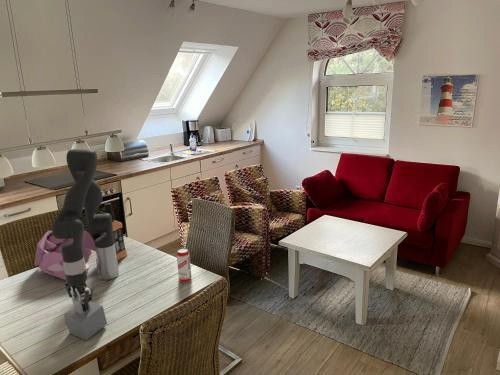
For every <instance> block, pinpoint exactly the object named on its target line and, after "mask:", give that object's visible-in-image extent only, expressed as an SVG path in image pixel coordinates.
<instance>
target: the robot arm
mask: <svg viewBox="0 0 500 375" xmlns="http://www.w3.org/2000/svg"><path fill="white" fill-rule="evenodd" d="M65 160H66V164H67V167H68V170H69V172H70V174H71V177H72V178H73V181H74V184H73V185H72V186H71V187H70V188H69V189H68V191H67V192H66V194H65V197H64V200H63V201H64V202H63V205H62V208H61V210H60V212H59V213H58V216H57V217H56V218H55V220H54V222H53V223H52V227H51V231H52V234H53V236H54V237H55V238H57V239H73V242H70V243H67V244H64V245H63V246H62V248H61V251H62V257H63V266H64V272H65V277H66V280H65V281H66V282H65V283H64V287H65V289H66V292H67V295H68V297H69V298H71V300H72V299H73V298H75V297H76V296H78V297H79V299H81V302H82V308H83V311H84V312H86V311H87V310H89V305H88V302H90V301H91V302H93V301H92V300H93V293H94V291H93V288H88V285H87V283H86V282H87V280H88V279H89V277H88V273H87V271H88V269H86V264H85V260H84V256H83V250H82V239H83V233H84V230H85V224H84V222H82V221H81V220H80V219H77V218H78V217H80V216H82V214H83V212H84V213H85V215H86V221H87V225H88V226H87V227H88V228H89V232H90V233H91V234H101V233H103V232H106V234H105V235H103V236H101V235H100V236H99V237H98V238H96V239H95V240H94V242H95V249H96V251H95V253H96V267H97V274H98V276H99V279H101V280H105V281H107V280H108V281H109V280H113V279H115V278H116V277H118V276H119V274H120V273H119V272H120V271H119V266H118V265H119V264H118V261H117V256H116V249H115V242H114V235H113V223H112V217H111V215H110V214H109V213H105V212H104V213H97V214H95V213H96V212H97V210H98V209H99V207H100V206H101V205H102V202H103V193H102V189H101V187H100V185H99V184H98V183H97V182H96V181H95V180H94V176H95V173H96V170H97V167H98V154H97V152H96V151H95V150H94V149H86V148H85V149H82V148H79V149H78V148H72V149H69V150H68V151H67V152H66V159H65ZM83 210H84V211H83ZM74 218H76V219H74ZM82 294H83V295H82ZM83 297H85V300H84V299H83Z"/></svg>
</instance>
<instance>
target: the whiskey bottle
mask: <svg viewBox="0 0 500 375" xmlns="http://www.w3.org/2000/svg"><path fill="white" fill-rule="evenodd" d="M103 206H104V211H105V212H104V213H109V214H110V215H111V217H112V223H113V235H114V242H115V249H116V256H117V262H119V261H121V260H122V259H123V258H126V257H127V256H128V253H127V249H126V247H125V240H124V234H123V233H124V232H123V223H122V222H121V221H118V220H115V215H114V212H113V207H112V203H111V202H107V203H106V202H105V203H104V204H103ZM105 234H106V232H103V233H100V237H101V236H103V235H105Z"/></svg>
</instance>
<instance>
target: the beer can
mask: <svg viewBox="0 0 500 375" xmlns="http://www.w3.org/2000/svg"><path fill="white" fill-rule="evenodd" d="M176 262H177V263H176V264H177V275H178V281H179V282H180V283H183V284H184V283H188V282H190V281H191V280H192V266H191V254H190V251H189V249H188V248H187V247H183V248H179V249H177V252H176Z"/></svg>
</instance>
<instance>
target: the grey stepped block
mask: <svg viewBox="0 0 500 375" xmlns="http://www.w3.org/2000/svg"><path fill="white" fill-rule="evenodd" d="M83 294H84V293H83ZM83 294H82V295H83ZM83 299H84V300H85V297H83ZM71 301H72V304H73V308H71V309H70V310H68V311H67V312H66V313H64V314H63V317H64V320H65V323H66V326H67V330H68V332H69V334H71V335H73V336H75V337H77V338H78V339H79V338H80V339H82V340H84V341H88V340H90V339H91V338H92V337H93V336H94V335H95V334H97V333H98V332H99V331H100V330H101V329H103V328H104V327H106V325H108V322H107V318H106V314H105V310H104V306H103V305H101V304H98V303H96V302H94V301H90V302H88V305H89V310H87V311H86V312H84V311H83V308H82V302H81V299H79V297H78V296H76V297H75V298H73V299H72V298H71Z"/></svg>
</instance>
